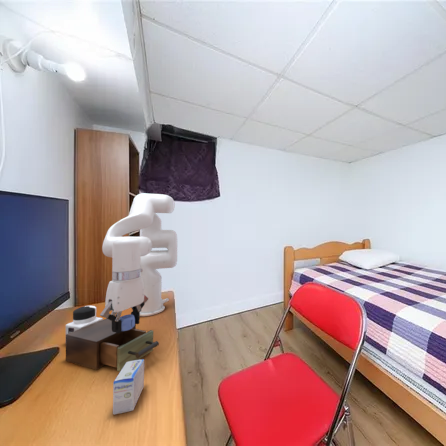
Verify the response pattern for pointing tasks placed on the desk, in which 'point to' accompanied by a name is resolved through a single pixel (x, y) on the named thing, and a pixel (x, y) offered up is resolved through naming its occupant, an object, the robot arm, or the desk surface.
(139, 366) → the medicine box
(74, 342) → the cabinet
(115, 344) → the drawer
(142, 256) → the robot arm
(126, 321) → the decorative dice
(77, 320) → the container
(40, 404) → the desk surface
